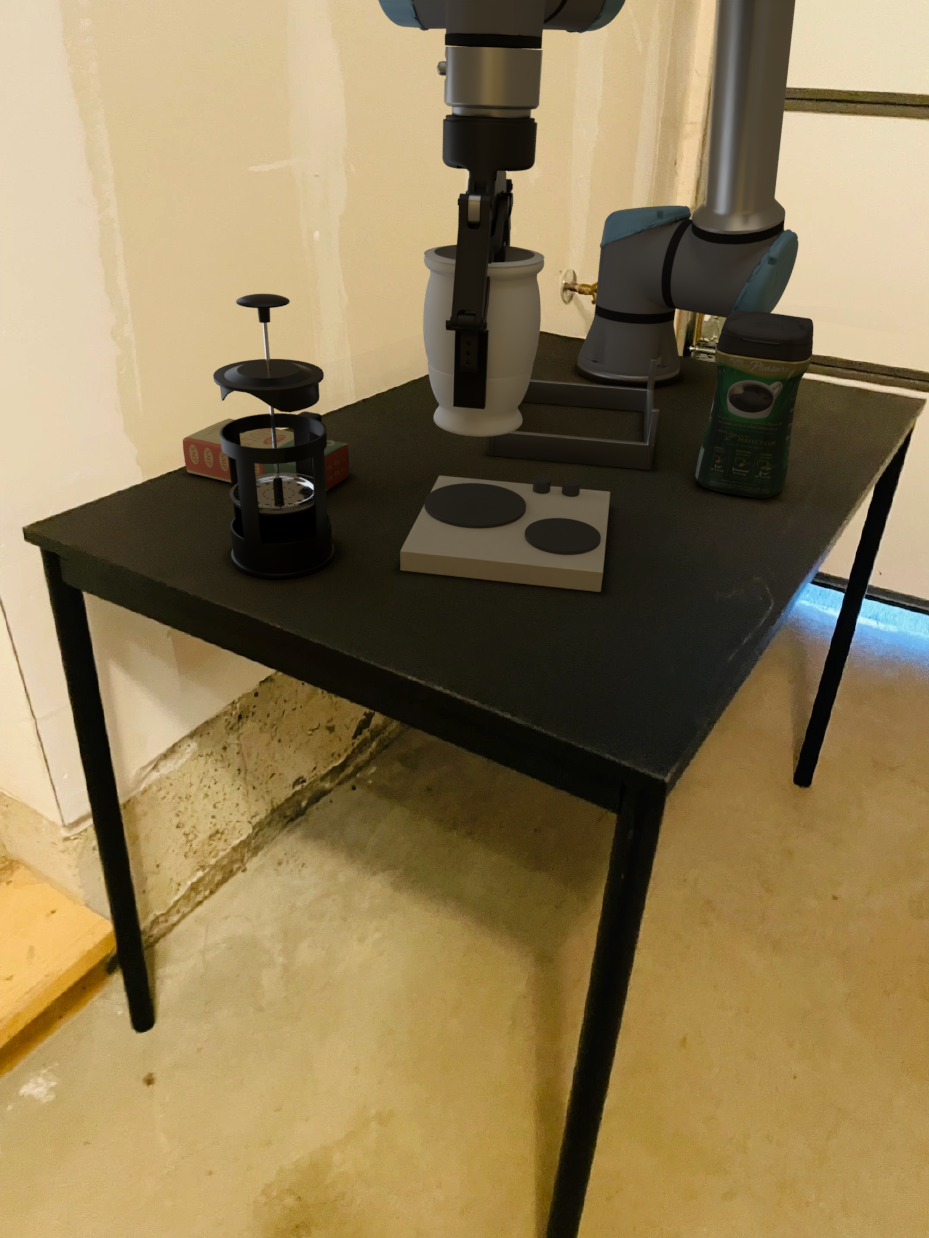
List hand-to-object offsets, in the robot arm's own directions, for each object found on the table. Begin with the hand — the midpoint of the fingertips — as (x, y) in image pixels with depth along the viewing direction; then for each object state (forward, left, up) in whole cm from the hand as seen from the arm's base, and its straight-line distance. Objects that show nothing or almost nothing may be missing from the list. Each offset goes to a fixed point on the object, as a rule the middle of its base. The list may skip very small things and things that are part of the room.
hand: (479, 387), depth 83 cm
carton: (-7, -24, -14) cm, 29 cm away
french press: (+10, -16, -14) cm, 24 cm away
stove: (+2, +4, -14) cm, 15 cm away
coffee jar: (-17, +27, -14) cm, 35 cm away
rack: (-30, +8, -14) cm, 34 cm away
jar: (0, 0, -4) cm, 4 cm away
